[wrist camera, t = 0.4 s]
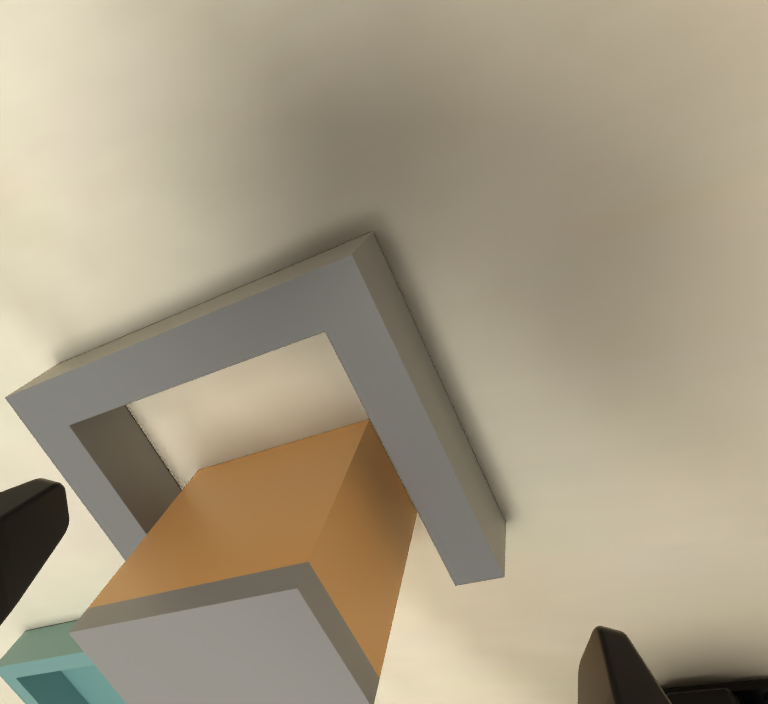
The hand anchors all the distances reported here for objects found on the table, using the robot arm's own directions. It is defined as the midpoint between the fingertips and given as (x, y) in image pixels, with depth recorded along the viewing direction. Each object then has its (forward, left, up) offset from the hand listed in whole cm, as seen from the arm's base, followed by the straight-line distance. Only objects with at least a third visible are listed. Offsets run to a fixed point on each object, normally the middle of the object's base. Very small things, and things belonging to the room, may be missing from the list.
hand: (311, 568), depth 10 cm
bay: (-4, +9, -13) cm, 16 cm away
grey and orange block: (-7, +9, -13) cm, 17 cm away
